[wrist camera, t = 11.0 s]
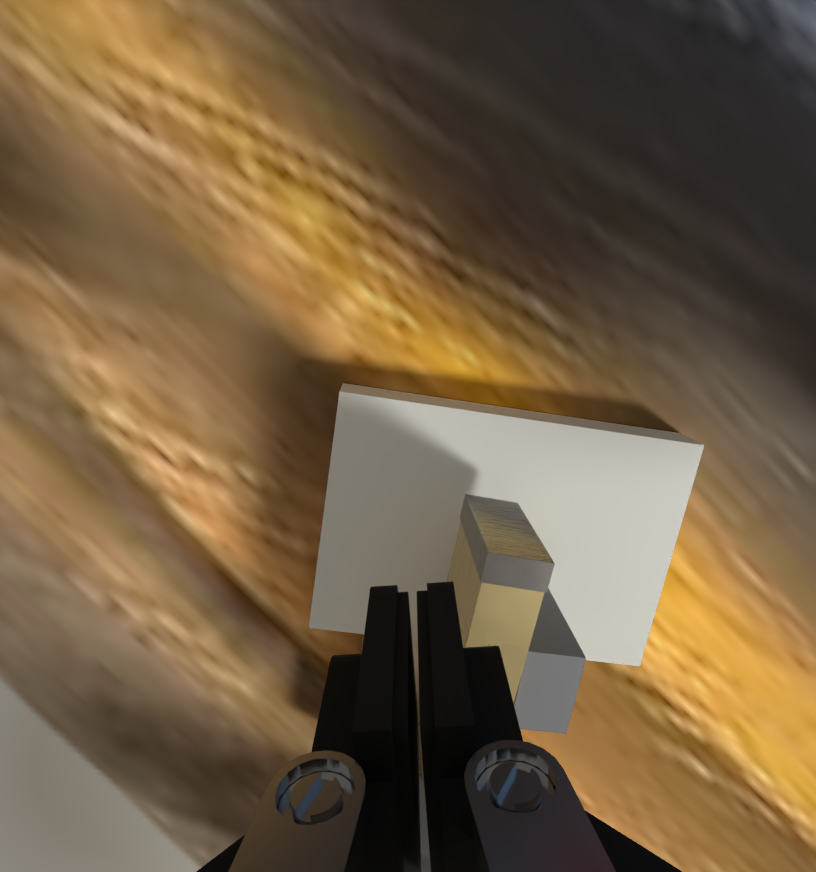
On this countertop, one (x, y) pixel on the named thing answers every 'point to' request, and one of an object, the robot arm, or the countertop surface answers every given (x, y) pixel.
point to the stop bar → (494, 594)
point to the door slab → (539, 500)
